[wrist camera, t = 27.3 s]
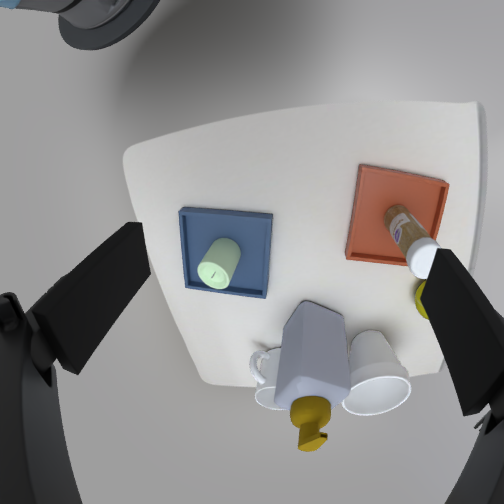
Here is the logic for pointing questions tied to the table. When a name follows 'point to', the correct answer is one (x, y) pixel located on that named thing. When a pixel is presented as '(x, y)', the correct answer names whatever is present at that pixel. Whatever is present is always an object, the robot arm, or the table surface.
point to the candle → (219, 263)
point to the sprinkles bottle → (411, 240)
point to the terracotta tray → (383, 198)
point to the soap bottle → (312, 371)
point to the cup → (375, 376)
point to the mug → (266, 377)
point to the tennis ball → (418, 302)
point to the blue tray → (237, 229)
